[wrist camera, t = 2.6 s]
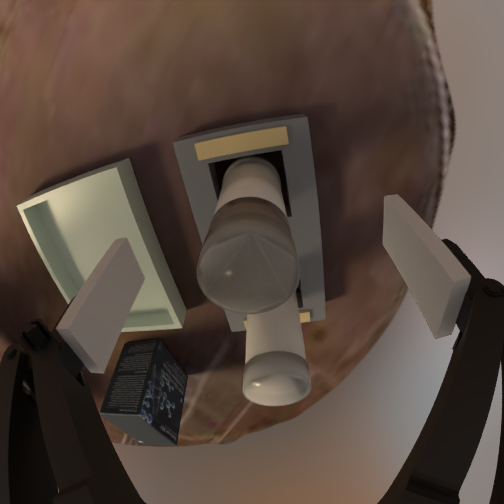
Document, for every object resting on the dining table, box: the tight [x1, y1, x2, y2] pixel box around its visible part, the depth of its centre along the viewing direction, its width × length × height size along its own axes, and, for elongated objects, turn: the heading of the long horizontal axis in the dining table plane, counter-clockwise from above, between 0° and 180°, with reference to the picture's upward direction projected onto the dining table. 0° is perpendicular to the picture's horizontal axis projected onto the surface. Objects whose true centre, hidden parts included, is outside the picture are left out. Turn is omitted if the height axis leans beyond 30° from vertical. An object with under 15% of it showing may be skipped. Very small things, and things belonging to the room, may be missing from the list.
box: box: [100, 339, 188, 446], centre depth 30 cm, size 8×6×11 cm
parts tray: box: [17, 158, 187, 332], centre depth 25 cm, size 16×12×2 cm
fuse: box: [243, 291, 311, 406], centre depth 22 cm, size 4×4×12 cm
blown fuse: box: [197, 154, 300, 314], centre depth 17 cm, size 4×4×12 cm
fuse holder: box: [173, 114, 326, 332], centre depth 23 cm, size 18×9×2 cm, turn 11°
